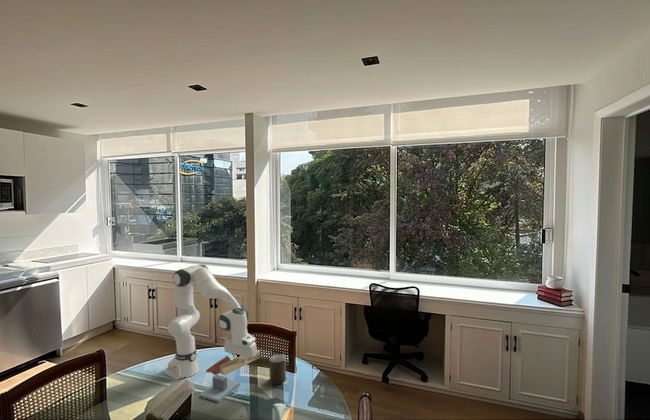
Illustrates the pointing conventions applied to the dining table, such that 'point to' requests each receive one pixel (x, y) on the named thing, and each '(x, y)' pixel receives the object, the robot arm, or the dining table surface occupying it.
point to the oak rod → (236, 363)
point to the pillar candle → (277, 369)
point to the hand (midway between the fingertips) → (240, 361)
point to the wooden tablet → (218, 365)
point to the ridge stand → (220, 388)
